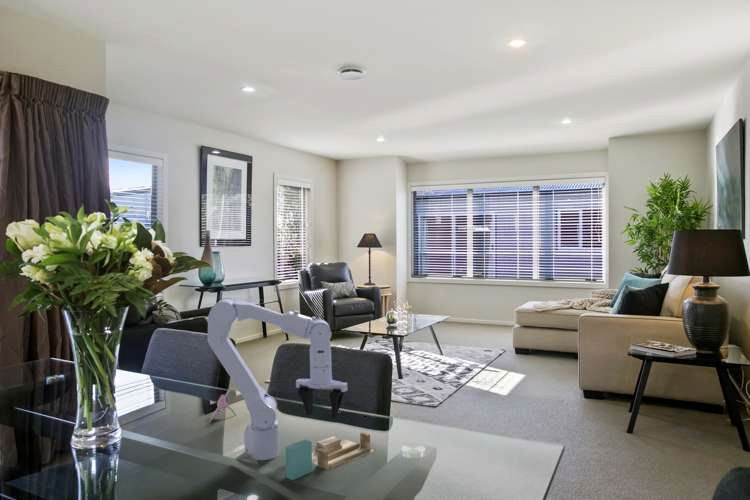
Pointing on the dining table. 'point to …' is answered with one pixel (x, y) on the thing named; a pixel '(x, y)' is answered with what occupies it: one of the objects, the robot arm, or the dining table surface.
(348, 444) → the birch rack
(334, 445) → the offcut stack
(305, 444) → the teal panel
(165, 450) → the dining table surface
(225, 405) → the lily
